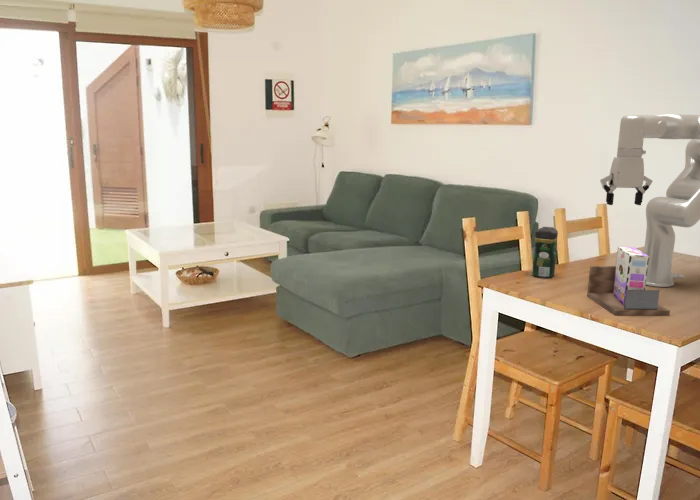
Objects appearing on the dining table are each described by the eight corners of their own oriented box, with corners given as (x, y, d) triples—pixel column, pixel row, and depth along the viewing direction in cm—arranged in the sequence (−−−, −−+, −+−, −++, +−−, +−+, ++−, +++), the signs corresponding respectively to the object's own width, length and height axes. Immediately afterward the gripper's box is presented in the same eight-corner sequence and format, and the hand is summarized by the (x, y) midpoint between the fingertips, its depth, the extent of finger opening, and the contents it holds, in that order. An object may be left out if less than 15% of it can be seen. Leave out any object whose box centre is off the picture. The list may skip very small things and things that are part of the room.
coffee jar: (534, 271, 232) (538, 224, 228) (555, 273, 229) (559, 226, 225) (529, 276, 224) (533, 228, 220) (551, 279, 220) (556, 230, 216)
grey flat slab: (655, 308, 182) (658, 290, 181) (657, 309, 182) (659, 290, 180) (623, 308, 182) (626, 290, 181) (625, 309, 181) (627, 290, 180)
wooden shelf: (636, 296, 201) (640, 266, 198) (669, 315, 181) (674, 282, 179) (587, 296, 200) (590, 265, 198) (614, 315, 181) (618, 282, 178)
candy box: (643, 307, 184) (650, 255, 180) (623, 306, 184) (629, 254, 181) (630, 294, 197) (636, 246, 193) (612, 293, 198) (617, 245, 194)
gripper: (648, 153, 201) (642, 203, 205) (598, 152, 200) (593, 203, 204) (661, 154, 194) (654, 206, 197) (609, 154, 193) (603, 206, 197)
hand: (623, 204), depth 201 cm, fingers open, 9 cm apart
